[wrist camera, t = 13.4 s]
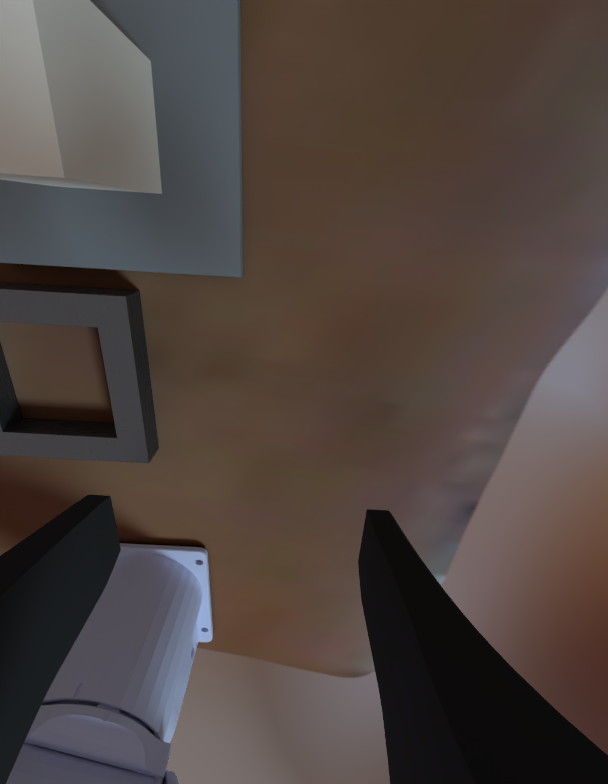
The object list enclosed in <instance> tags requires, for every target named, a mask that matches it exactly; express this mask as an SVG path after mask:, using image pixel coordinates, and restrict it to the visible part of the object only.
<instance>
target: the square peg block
mask: <svg viewBox="0 0 608 784" xmlns="http://www.w3.org/2000/svg"><path fill="white" fill-rule="evenodd" d="M0 180H8V181H16V182H24V183H32V184H40V185H48V186H56V187H70V188H85V189H99V190H114V191H128V192H142V193H157V194H162V187H161V175H160V164H159V152H158V140H157V128H156V117H155V105H154V93H153V81H152V70H151V61H150V60H149V59H148V58H147V57H146V56H145V55H144V54H143V53H142V52H141V51H140V50H139V49H138V48H137V47H136V46H135V45H134V44H133V43H132V42H131V41H130V40H129V39H128V38H127V37H126V36H125V35H124V34H123V33H122V32H121V31H120V30H119V29H118V28H117V27H116V26H115V25H114V24H113V23H112V22H111V21H110V20H109V19H108V18H107V17H106V16H105V15H104V14H103V13H102V12H101V11H100V10H99V9H98V8H97V7H96V6H95V5H94V4H93V3H92V2H91V1H90V0H0Z"/></svg>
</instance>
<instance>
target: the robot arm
mask: <svg viewBox="0 0 608 784" xmlns="http://www.w3.org/2000/svg"><path fill="white" fill-rule="evenodd" d="M358 565H359V577H360V588H361V599H362V604H363V610H364V615H365V620H366V626H367V631H368V636H369V641H370V646H371V651H372V656H373V662H374V667H375V672H376V677H377V682H378V687H379V693H380V699H381V705H382V712H383V720H384V729H385V738H386V747H387V755H388V765H389V775H390V784H608V755H607V754H605V753H604V752H603V751H602V750H601V749H600V748H598V747H597V746H596V745H595V744H594V743H593V742H592V741H590V740H589V739H588V738H587V737H586V736H585V735H584V734H583V733H581V732H580V731H579V730H578V729H577V728H576V727H575V726H573V725H572V724H571V723H570V722H569V721H568V720H566V719H565V718H564V717H563V716H562V715H561V714H560V713H559V712H558V711H557V710H556V709H555V708H553V706H552V705H550V704H549V703H548V702H547V701H546V700H545V699H544V698H543V697H542V696H541V695H540V694H539V693H538V692H537V691H536V690H535V689H534V688H533V687H532V686H531V685H530V684H529V683H527V682H526V681H525V680H524V679H523V678H522V677H521V676H520V675H519V674H518V673H517V672H516V671H515V670H514V669H513V668H512V667H511V666H510V665H509V664H508V663H507V662H506V661H505V660H504V659H503V658H502V656H501V655H500V654H499V653H498V652H497V651H496V650H495V649H494V648H493V647H492V646H491V645H490V644H489V643H488V641H487V640H486V639H485V638H484V637H483V636H482V635H481V634H480V633H479V632H478V631H477V629H476V628H475V627H474V626H473V625H472V624H471V623H470V621H469V620H468V619H467V618H466V617H465V615H463V613H462V612H461V611H460V609H459V608H458V607H457V606H456V604H455V603H454V602H453V601H452V599H451V598H450V597H449V596H448V594H447V593H446V592H445V591H444V590H443V588H442V587H441V585H440V584H439V583H438V582H437V580H436V579H435V577H434V576H433V575H432V573H431V572H430V571H429V569H428V568H427V567H426V565H425V564H424V562H423V561H422V560H421V558H420V557H419V555H418V554H417V552H416V551H415V550H414V548H413V547H412V545H411V544H410V542H409V541H408V539H407V538H406V536H405V535H404V533H403V531H402V530H401V528H400V527H399V525H398V524H397V522H396V520H395V519H394V517H393V516H392V514H391V513H390V512H389V511H386V510H367V512H366V518H365V524H364V530H363V536H362V542H361V548H360V554H359V560H358ZM212 637H213V626H212V611H211V596H210V582H209V567H208V553H207V551H206V550H205V549H204V548H201V547H184V546H165V545H145V544H125V543H119V538H118V533H117V528H116V523H115V518H114V513H113V508H112V503H111V498H110V496H101V495H87V496H86V497H84V498H83V499H81V500H80V501H78V502H77V503H75V504H74V505H72V506H71V507H70V508H68V509H67V510H65V511H64V512H63V513H61V514H60V515H58V516H57V517H56V518H54V519H53V520H51V521H50V522H49V523H47V524H46V525H44V526H43V527H41V528H40V529H39V530H37V531H36V532H34V533H33V534H31V535H30V536H29V537H27V538H26V539H24V540H23V541H21V542H20V543H19V544H17V545H16V546H14V547H13V548H11V549H10V550H8V551H7V552H5V553H4V554H2V555H1V556H0V784H178V780H177V776H176V775H175V773H174V772H171V771H168V770H166V767H167V763H168V759H169V755H170V751H171V748H172V745H171V744H169V743H170V741H171V739H172V737H173V734H174V731H175V728H176V725H177V721H178V717H179V713H180V709H181V705H182V702H183V698H184V694H185V690H186V687H187V683H188V678H189V675H190V671H191V667H192V663H193V660H194V656H195V652H196V648H197V644H198V642H209V641H211V640H212Z"/></svg>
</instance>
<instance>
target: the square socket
mask: <svg viewBox="0 0 608 784" xmlns="http://www.w3.org/2000/svg"><path fill="white" fill-rule="evenodd" d="M0 322H15V323H32V324H49V325H65V326H82V327H98V332H99V338H100V344H101V349H102V355H103V361H104V366H105V372H106V378H107V383H108V389H109V395H110V400H111V406H112V412H113V417H114V423H100V422H82V421H64V420H46V419H28V418H22V415H21V412H20V409H19V405H18V402H17V398H16V395H15V391H14V388H13V385H12V381H11V378H10V374H9V371H8V368H7V364H6V361H5V357H4V354H3V350H2V347H1V344H0V455H7V456H25V457H44V458H62V459H81V460H99V461H118V462H137V463H149V462H150V461H151V459H152V458H153V456H154V455H155V453H156V451H157V450H158V448H159V446H158V438H157V429H156V421H155V413H154V405H153V397H152V389H151V381H150V373H149V365H148V356H147V348H146V340H145V332H144V324H143V316H142V308H141V300H140V292H139V291H137V290H120V289H104V288H87V287H71V286H55V285H38V284H22V283H5V282H0Z"/></svg>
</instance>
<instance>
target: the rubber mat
mask: <svg viewBox="0 0 608 784" xmlns="http://www.w3.org/2000/svg"><path fill="white" fill-rule="evenodd" d="M90 1H91V2H92V3H93V4H94V5H95V6H96V7H97V8H98V9H99V10H100V11H101V12H102V13H103V14H104V15H105V16H106V17H107V18H108V19H109V20H110V21H111V22H112V23H113V24H114V25H115V26H116V27H117V28H118V29H119V30H120V31H121V32H122V33H123V34H124V35H125V36H126V37H127V38H128V39H129V40H130V41H131V42H132V43H133V44H134V45H135V46H136V47H137V48H138V49H139V50H140V51H141V52H142V53H143V54H144V55H145V56H146V57H147V58H148V59H149V60H150V61H151V70H152V81H153V93H154V105H155V117H156V128H157V140H158V152H159V164H160V175H161V187H162V194H157V193H142V192H128V191H114V190H99V189H85V188H70V187H56V186H48V185H40V184H32V183H24V182H16V181H8V180H0V263H15V264H31V265H47V266H64V267H80V268H96V269H112V270H129V271H145V272H161V273H178V274H194V275H210V276H226V277H242V276H243V240H242V140H241V39H240V0H90Z"/></svg>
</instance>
